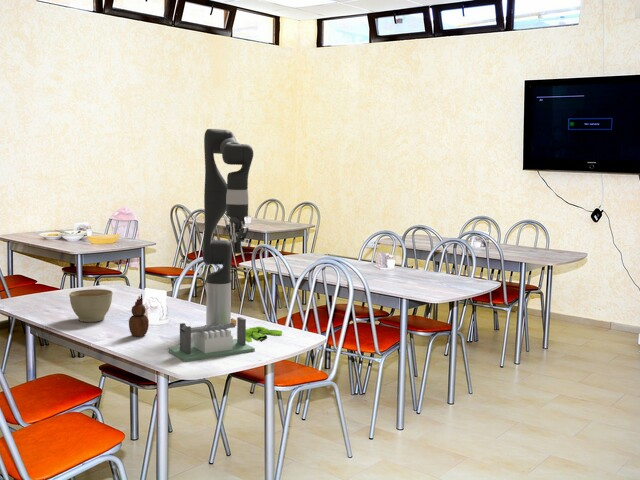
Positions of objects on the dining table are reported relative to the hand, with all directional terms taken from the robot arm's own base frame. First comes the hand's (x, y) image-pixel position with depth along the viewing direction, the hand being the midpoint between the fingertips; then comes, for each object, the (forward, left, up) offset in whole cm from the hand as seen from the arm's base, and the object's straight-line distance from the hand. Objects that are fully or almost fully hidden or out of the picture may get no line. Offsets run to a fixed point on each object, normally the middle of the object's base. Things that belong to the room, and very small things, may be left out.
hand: (236, 252), depth 244 cm
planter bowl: (-58, -34, -32) cm, 75 cm away
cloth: (-5, +13, -33) cm, 36 cm away
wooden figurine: (-26, -26, -32) cm, 49 cm away
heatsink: (+5, -12, -32) cm, 35 cm away
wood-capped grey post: (+5, -13, -25) cm, 28 cm away
